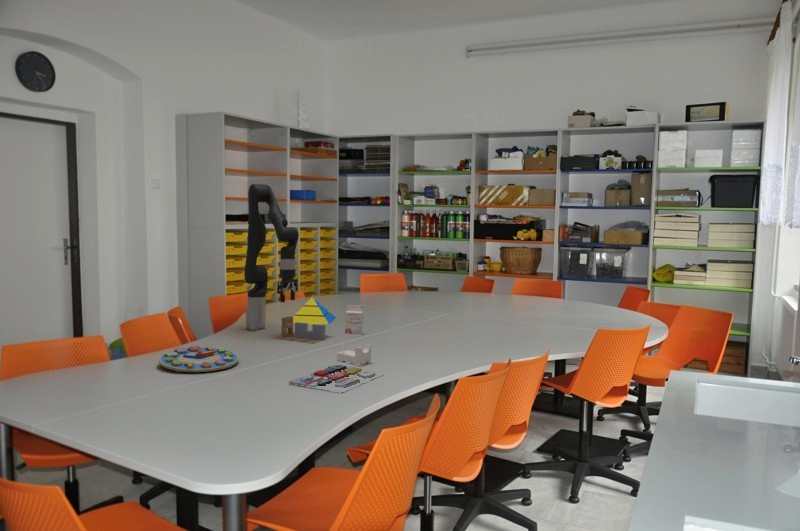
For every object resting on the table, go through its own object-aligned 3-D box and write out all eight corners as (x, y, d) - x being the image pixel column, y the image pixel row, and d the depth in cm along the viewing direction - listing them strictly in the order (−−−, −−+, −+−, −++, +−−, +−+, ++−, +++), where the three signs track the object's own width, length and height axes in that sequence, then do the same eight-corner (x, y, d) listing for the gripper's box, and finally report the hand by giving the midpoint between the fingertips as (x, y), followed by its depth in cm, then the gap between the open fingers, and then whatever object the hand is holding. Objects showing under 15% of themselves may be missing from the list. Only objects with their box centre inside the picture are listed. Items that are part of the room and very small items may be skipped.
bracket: (371, 363, 269) (371, 345, 268) (359, 366, 263) (359, 347, 263) (348, 358, 277) (348, 340, 276) (336, 361, 271) (336, 343, 271)
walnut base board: (270, 340, 309) (270, 338, 309) (293, 333, 327) (293, 331, 327) (312, 345, 299) (312, 343, 299) (334, 338, 318) (334, 336, 317)
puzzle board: (341, 395, 222) (341, 388, 222) (288, 386, 233) (288, 378, 233) (385, 376, 249) (385, 369, 249) (335, 368, 260) (335, 362, 260)
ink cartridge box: (344, 334, 327) (344, 306, 326) (346, 333, 332) (346, 304, 331) (361, 335, 326) (361, 306, 325) (362, 333, 331) (363, 305, 330)
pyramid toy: (330, 326, 354) (330, 300, 353) (285, 324, 356) (285, 299, 354) (337, 318, 379) (337, 294, 378) (295, 317, 381) (295, 293, 379)
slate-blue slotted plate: (294, 336, 314) (294, 322, 313) (297, 336, 316) (297, 322, 315) (323, 340, 307) (323, 325, 307) (325, 339, 309) (325, 325, 309)
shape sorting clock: (164, 378, 239) (164, 362, 239) (154, 360, 266) (154, 346, 265) (247, 370, 253) (247, 355, 253) (229, 354, 280) (229, 340, 280)
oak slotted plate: (281, 336, 315) (281, 318, 314) (289, 334, 320) (289, 316, 320) (285, 336, 314) (285, 318, 313) (293, 334, 319) (293, 316, 319)
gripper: (289, 266, 322) (289, 299, 324) (272, 268, 309) (272, 302, 311) (302, 267, 319) (302, 300, 321) (285, 269, 306) (285, 303, 308)
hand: (287, 301), depth 316 cm, fingers open, 8 cm apart
